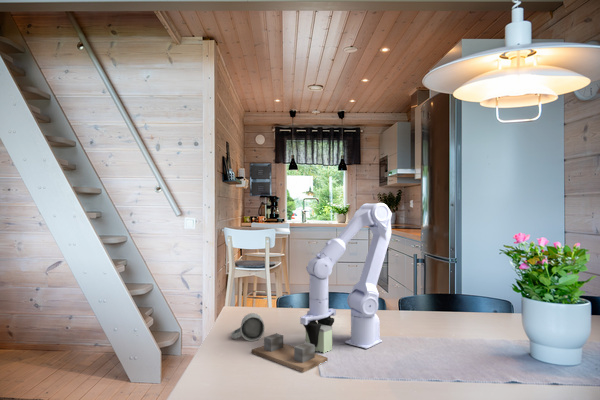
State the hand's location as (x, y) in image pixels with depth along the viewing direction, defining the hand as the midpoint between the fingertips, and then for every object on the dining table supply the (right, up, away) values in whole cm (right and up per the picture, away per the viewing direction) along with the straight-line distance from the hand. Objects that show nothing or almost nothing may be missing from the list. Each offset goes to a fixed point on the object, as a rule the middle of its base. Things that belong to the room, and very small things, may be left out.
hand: (318, 343), depth 116 cm
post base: (-9, -1, -7) cm, 11 cm away
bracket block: (0, -1, 0) cm, 1 cm away
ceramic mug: (-22, -2, +10) cm, 25 cm away
